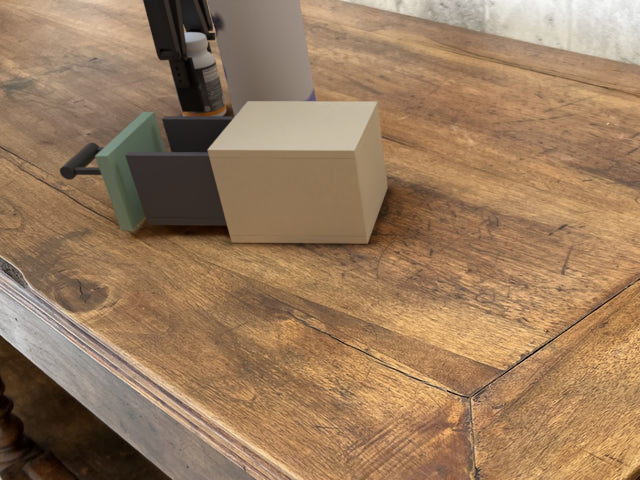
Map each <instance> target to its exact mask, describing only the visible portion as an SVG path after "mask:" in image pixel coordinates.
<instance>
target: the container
mask: <svg viewBox="0 0 640 480" xmlns="http://www.w3.org/2000/svg"><path fill="white" fill-rule="evenodd" d="M207 4H208V8H209V12H210V16H211V20H212V24H213V29H214V31H215V32H214V33H215V36H216V39H215V40H216V43H217V47H218V52H219V57H220V60H221V65H222V69H223V74H224V78H225V82H226V87H227V90H228V94H229V98H230V103H231V108H232V112H233V115H234V116H236V115H237V114H238V112H239V111H240V110H241V109H242V108H243V106H244V105H245V104H246V103H247V101H317V97H316V92H315V91H316V90H315V83H314V78H313V72H312V66H311V61H310V55H309V49H308V43H307V36H306V31H305V24H304V19H303V12H302V6H301V1H300V0H207Z"/></svg>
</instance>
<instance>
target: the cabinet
mask: <svg viewBox="0 0 640 480" xmlns="http://www.w3.org/2000/svg"><path fill="white" fill-rule="evenodd" d="M379 111H380V110H379V102H378V101H376V100H375V101H374V100H373V101H372V100H371V101H364V100H363V101H360V100H359V101H357V100H356V101H354V100H353V101H351V100H349V101H345V100H343V101H340V100H338V101H333V100H332V101H331V100H328V101H327V100H326V101H323V100H322V101H320V100H319V101H318V100H316V101H247V103H246V104H245V105H244V106H243V108H242V109H241V110H240V111H239V112H238V114H237V115H236V116H235V117H234V118H233V120H232V121H231V122H230V123H229V124H228V126H227V127H226V128H225V129H224V130H223V132H222V133H221V134H220V135H219V136H218V138H217V139H216V140H215V141H214V142H213V144H212V145H211V146H210V147H209V148H208V154H209V158H210V162H211V166H212V169H213V173H214V177H215V181H216V185H217V188H218V192H219V196H220V200H221V204H222V208H223V211H224V215H225V219H226V223H227V225H226V226H227V230H228V234H229V237H230V238H229V239H230V241H231V243H232V244H234V243H235V244H238V243H239V244H245V243H246V244H343V245H344V244H345V245H346V244H348V245H349V244H350V245H351V244H353V245H355V244H358V245H362V244H363V245H364V244H365V245H366V244H367V245H368V244H369V241H370V238H371V236H372V233H373V230H374V228H375V224H376V222H377V218H378V215H379V213H380V210H381V207H382V204H383V202H384V199H385V196H386V194H387V191H388V178H387V170H386V161H385V153H384V144H383V137H382V128H381V118H380V112H379Z"/></svg>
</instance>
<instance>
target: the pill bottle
mask: <svg viewBox="0 0 640 480" xmlns="http://www.w3.org/2000/svg"><path fill="white" fill-rule="evenodd" d="M184 34H185V41H186V48H187V55H188V58H192V60H193V64H194V68H195V72H196V76H197V80H198V84H199V87H200V91H201V95H202V99H203V103H204V107H205V110H204V112H182V108H181V105H180V101H179V97H178V94H177V90H176V86H175V83H174V82H173V84H174V88H175V92H176V96H177V100H178V104H179V107H180V111H181V114H182V115H181V116H226V115H225V114H226V113H227V105H226V100H225V96H224V92H223V87H222V83H221V77H220V74H219V70H218V66H217V65H218V64H217V61H216V58H215V56H214V55H213V53H212V54H211V53H210V52H208V51H207V46H208V42H209V41H208V40H207V38H206V35H205V34H203V33H198V32H186V31H185V32H184ZM207 41H208V42H207ZM168 64H169V63H168ZM169 66H170V64H169ZM169 68H170V67H169ZM170 70H171V68H170ZM170 72H171V71H170ZM171 76H172V77H173V75H172V72H171ZM172 81H174V79H173V78H172Z"/></svg>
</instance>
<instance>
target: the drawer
mask: <svg viewBox="0 0 640 480" xmlns="http://www.w3.org/2000/svg"><path fill="white" fill-rule="evenodd" d="M234 117H235V116H231V115H223V116H183V115H164V116H163V117H162V118H161V121H162V125H163V127H164V131H165V134H166V138H167V142H168V145H169V148H170V151H166V148H165V144H164V140H163V138H162V134H161V131H160V128H159V127H160V126H159V123H158V119H157V117H156V114H155V111H142V112H140V114H139V115H137V117H136V118H134V119H133V121H131V122H130V123H129V124H128V125H127V126H126V127H125V128H123V130H121V131H120V132H119V133H118V134H117V135H115V137H113V139H112V140H111V141H110V142H108V143H107V144H106V145H105V146H99V145H98V144H97V143H96V142H89V143H87V144H85V146H84V147H83V148H82V149H80V150H79V151H78V152H77V153H76V154H75V155H73V156H72V157H71V158H70V159H69V160H68V161H67V162H65V163H64V164H63V165H62V166H61V167H60V168H59V174H60V175H61V177H62V178H64V179H65V180H67V181H68V180H70V181H72V180H73V179H75V178H76V177H77V176H101V177H102V180H103V183H104V186H105V190H106V192H107V194H108V197H109V200H110V203H111V205H112V209H113V211H114V214H115V217H116V219H117V223H118V226H119V228H120V231H121V232H133V231H134V230H136V228H137V226H139V225H140V223H141V222H143V220H144V219H145V220H146V223H147V225H148V226H227V223H226V219H225V215H224V211H223V208H222V204H221V200H220V196H219V192H218V188H217V185H216V181H215V177H214V173H213V169H212V166H211V162H210V158H209V154H208V148H209V147H210V146H211V145H212V144H213V142H214V141H215V140H216V139H217V138H218V136H219V135H220V134H221V133H222V132H223V130H224V129H225V128H226V127H227V126H228V124H229V123H230V122H231V121H232V120H233V118H234ZM94 160H95V161H96V164H97V167H96V166H93V167H91V166H89V165H90V164H91V163H92V162H93V161H94Z"/></svg>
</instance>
